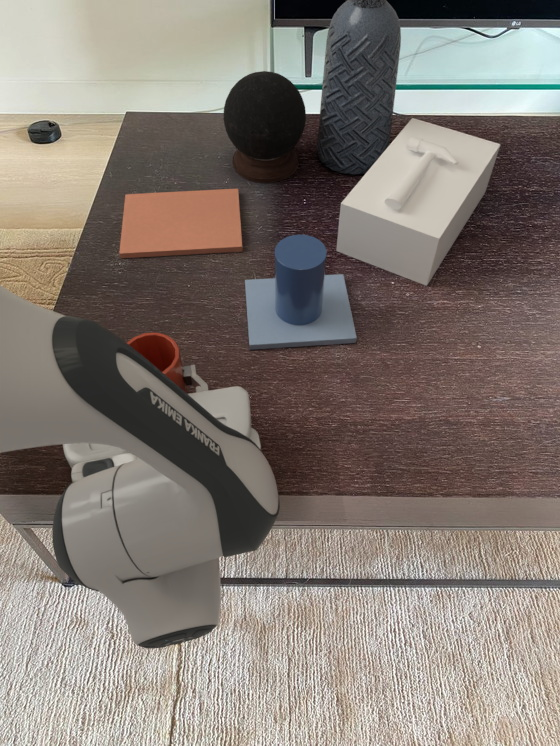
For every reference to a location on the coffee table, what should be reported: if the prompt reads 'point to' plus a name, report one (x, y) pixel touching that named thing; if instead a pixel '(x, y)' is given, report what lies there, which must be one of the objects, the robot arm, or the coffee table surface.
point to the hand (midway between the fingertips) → (154, 373)
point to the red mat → (181, 223)
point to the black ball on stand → (264, 126)
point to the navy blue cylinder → (299, 279)
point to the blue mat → (279, 334)
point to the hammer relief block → (416, 200)
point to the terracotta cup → (161, 355)
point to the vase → (358, 85)
